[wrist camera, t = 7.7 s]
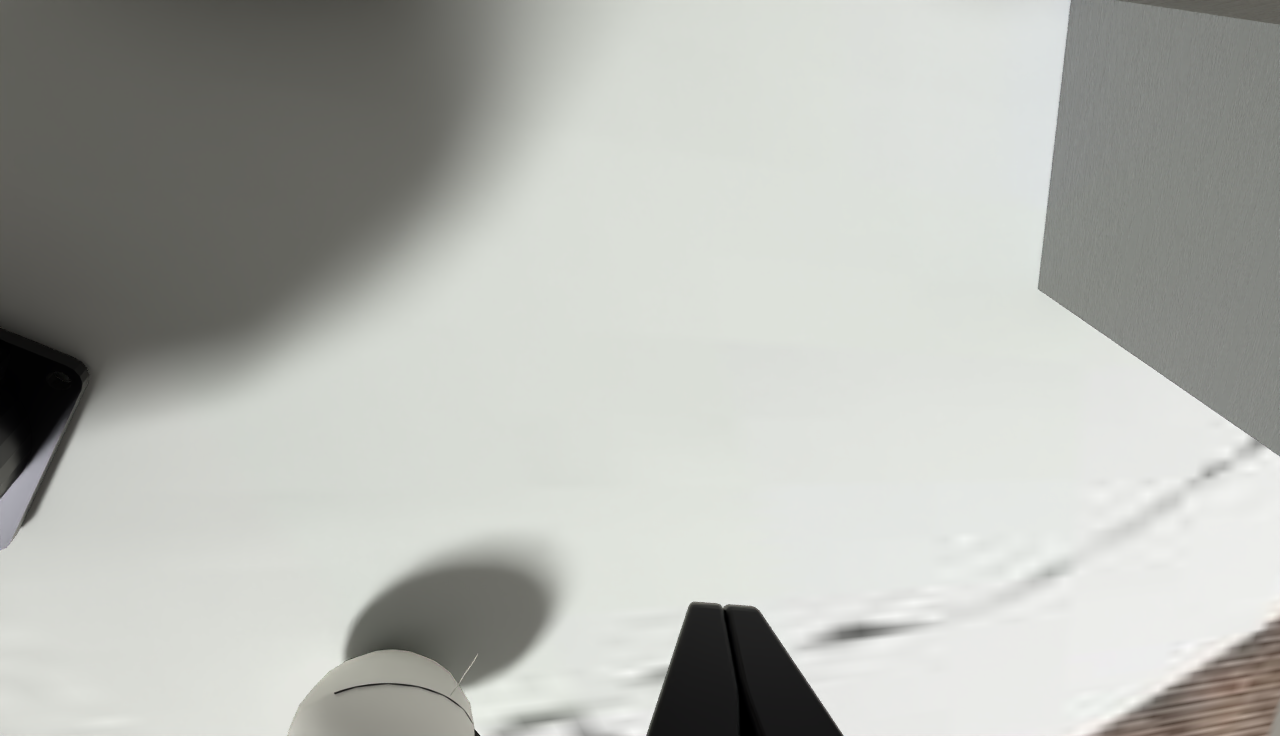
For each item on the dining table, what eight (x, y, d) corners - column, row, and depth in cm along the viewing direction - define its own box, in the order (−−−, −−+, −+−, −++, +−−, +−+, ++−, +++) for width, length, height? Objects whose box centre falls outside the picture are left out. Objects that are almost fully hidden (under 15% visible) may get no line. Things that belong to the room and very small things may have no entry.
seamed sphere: (396, 745, 28) (378, 914, 24) (265, 677, 26) (214, 852, 21) (557, 634, 27) (572, 790, 22) (436, 548, 24) (424, 705, 19)
